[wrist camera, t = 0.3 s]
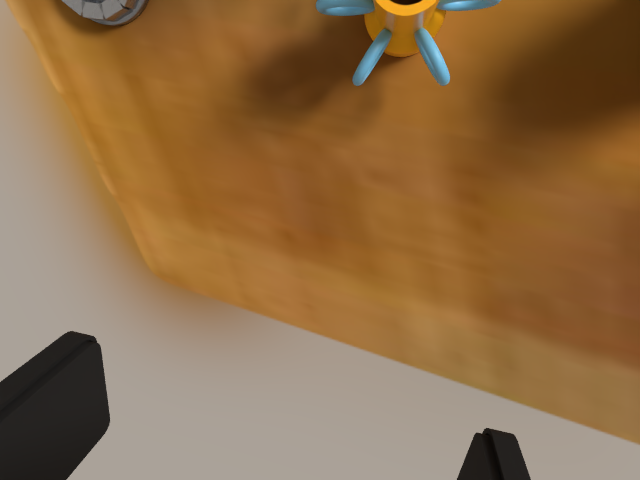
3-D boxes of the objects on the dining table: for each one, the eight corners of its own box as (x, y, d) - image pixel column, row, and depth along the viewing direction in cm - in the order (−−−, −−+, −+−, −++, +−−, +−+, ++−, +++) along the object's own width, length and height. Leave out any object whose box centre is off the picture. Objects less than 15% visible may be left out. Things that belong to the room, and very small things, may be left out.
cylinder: (330, 86, 35) (289, 88, 21) (330, -53, 31) (279, -161, 17) (472, 84, 33) (526, 85, 19) (491, -65, 29) (576, -198, 15)
